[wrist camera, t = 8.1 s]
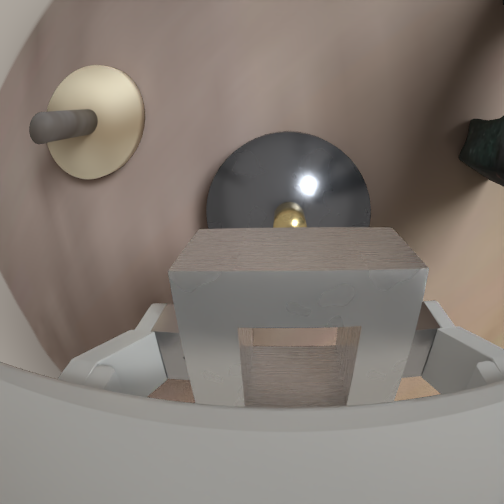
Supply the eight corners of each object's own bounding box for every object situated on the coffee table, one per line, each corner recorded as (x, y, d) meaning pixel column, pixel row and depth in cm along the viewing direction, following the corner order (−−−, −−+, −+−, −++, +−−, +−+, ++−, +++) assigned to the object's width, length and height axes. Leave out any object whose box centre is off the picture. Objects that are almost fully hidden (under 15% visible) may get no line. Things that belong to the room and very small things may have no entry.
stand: (50, 82, 18) (-5, 81, 12) (142, 55, 17) (95, 38, 12) (59, 182, 21) (7, 204, 16) (150, 170, 20) (106, 191, 15)
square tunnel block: (199, 229, 10) (168, 270, 7) (391, 227, 9) (428, 268, 7) (218, 373, 12) (203, 431, 10) (368, 372, 12) (382, 430, 9)
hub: (205, 134, 19) (188, 139, 15) (366, 133, 18) (386, 136, 14) (218, 279, 23) (206, 309, 19) (358, 278, 22) (371, 309, 18)
